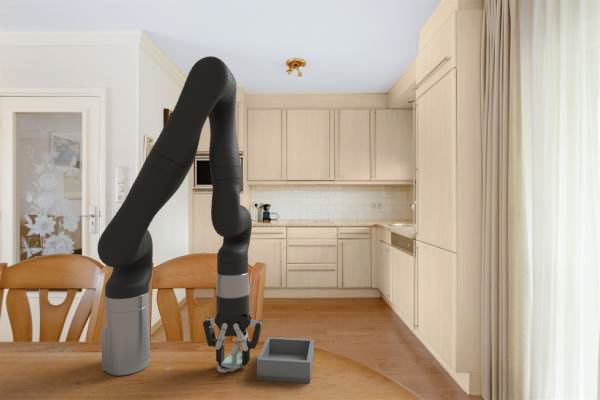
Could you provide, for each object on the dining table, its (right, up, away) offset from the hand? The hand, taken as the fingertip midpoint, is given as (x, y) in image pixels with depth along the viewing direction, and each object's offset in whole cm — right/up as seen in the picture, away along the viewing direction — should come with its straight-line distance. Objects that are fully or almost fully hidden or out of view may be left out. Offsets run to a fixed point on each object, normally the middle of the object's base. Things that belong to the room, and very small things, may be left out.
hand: (233, 363), depth 83 cm
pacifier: (-1, -1, 0) cm, 1 cm away
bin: (+13, -1, 0) cm, 13 cm away
